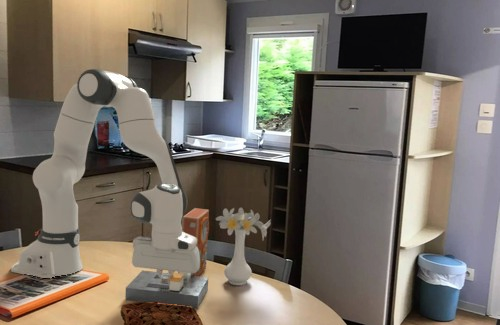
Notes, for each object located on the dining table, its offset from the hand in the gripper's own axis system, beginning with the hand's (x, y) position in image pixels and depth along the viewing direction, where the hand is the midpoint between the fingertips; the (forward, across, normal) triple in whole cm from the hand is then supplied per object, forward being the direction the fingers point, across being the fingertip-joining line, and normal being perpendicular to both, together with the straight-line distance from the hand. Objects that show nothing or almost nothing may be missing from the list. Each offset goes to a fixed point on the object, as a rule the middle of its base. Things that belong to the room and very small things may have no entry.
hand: (165, 283), depth 141 cm
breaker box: (+5, 0, +4) cm, 6 cm away
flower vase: (+6, +20, +20) cm, 28 cm away
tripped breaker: (+1, +3, 0) cm, 4 cm away
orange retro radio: (+6, +3, +24) cm, 24 cm away
